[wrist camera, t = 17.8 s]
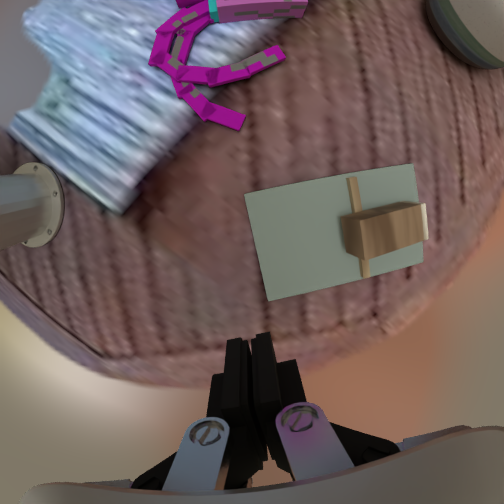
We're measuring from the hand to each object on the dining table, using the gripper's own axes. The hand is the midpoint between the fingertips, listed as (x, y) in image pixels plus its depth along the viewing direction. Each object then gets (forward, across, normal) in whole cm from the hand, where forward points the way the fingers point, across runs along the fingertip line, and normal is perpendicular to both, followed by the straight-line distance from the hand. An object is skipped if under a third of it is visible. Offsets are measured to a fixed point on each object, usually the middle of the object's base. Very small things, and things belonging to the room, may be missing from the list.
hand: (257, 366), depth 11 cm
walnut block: (+22, -12, +2) cm, 25 cm away
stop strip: (+26, -14, +2) cm, 30 cm away
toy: (+28, -3, -26) cm, 38 cm away
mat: (+27, -12, +2) cm, 30 cm away
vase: (+27, -41, -27) cm, 56 cm away
